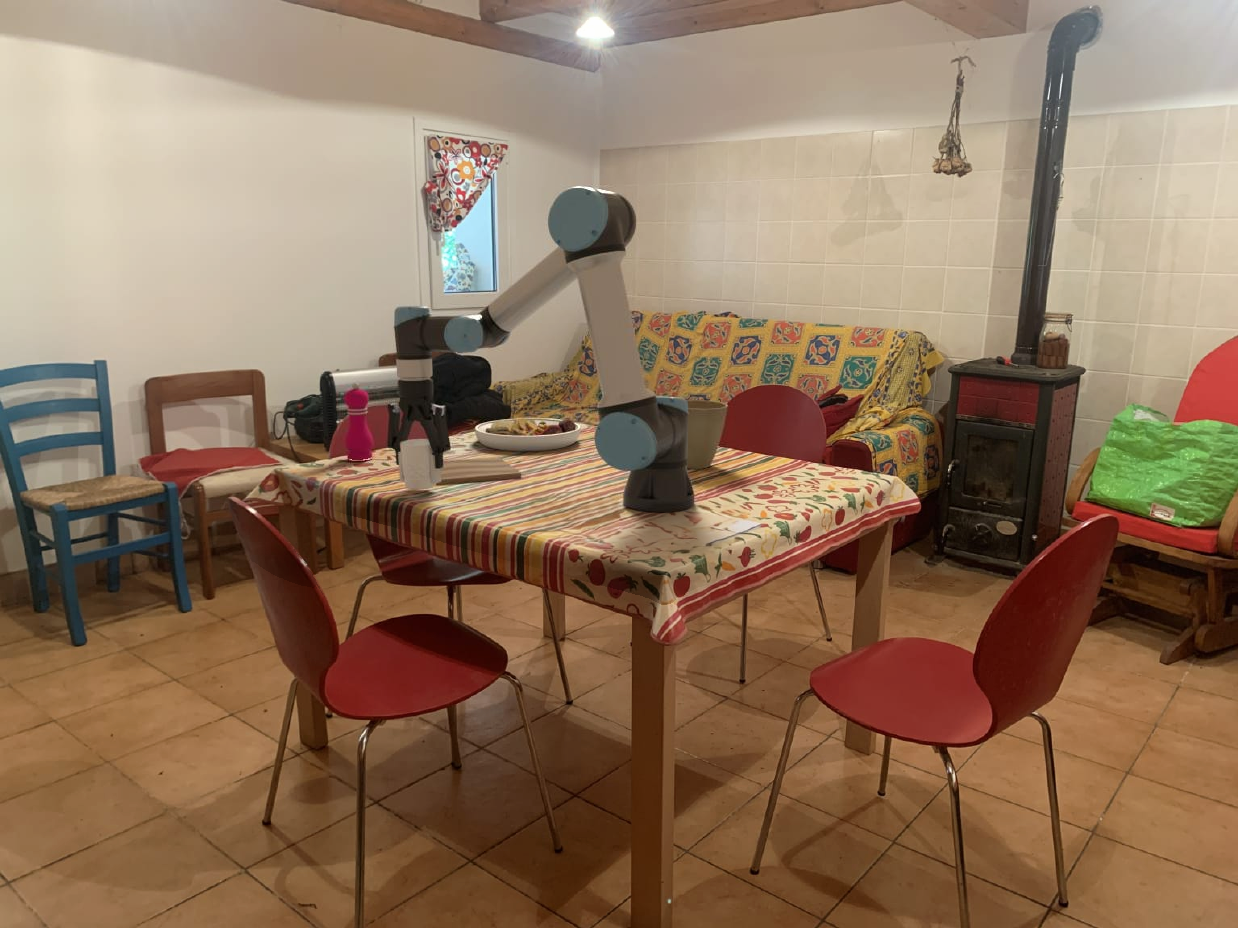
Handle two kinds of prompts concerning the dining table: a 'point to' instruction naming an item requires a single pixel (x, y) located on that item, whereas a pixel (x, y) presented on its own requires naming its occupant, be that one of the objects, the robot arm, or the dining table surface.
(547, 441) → the bowl
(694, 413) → the plant pot
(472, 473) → the walnut board
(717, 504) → the dining table surface
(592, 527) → the dining table surface
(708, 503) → the dining table surface
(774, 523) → the dining table surface
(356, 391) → the pepper mill
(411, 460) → the white cup
